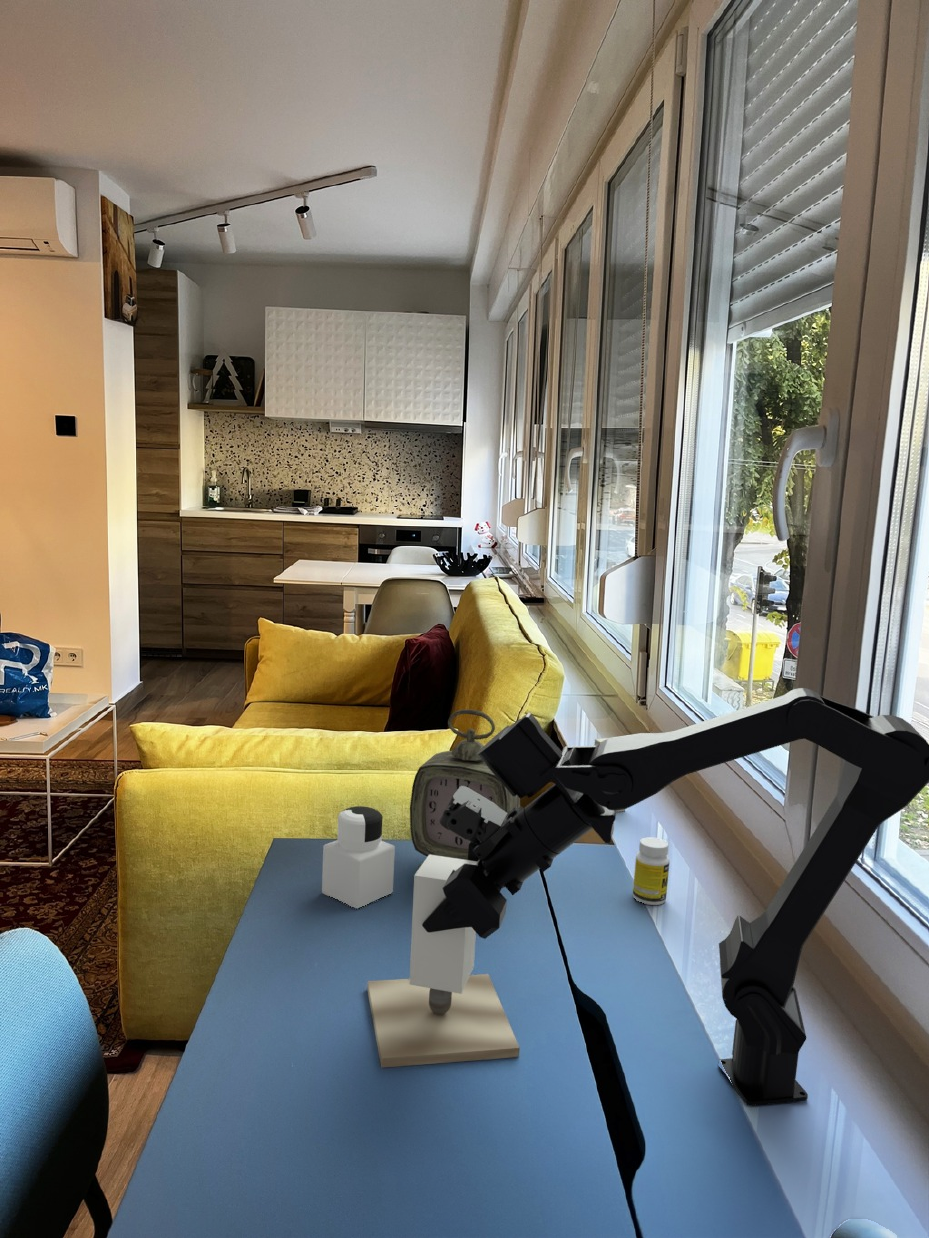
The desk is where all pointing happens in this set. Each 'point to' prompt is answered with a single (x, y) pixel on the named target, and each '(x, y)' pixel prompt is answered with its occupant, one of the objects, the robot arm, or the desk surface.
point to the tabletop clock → (452, 792)
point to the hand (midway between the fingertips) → (432, 915)
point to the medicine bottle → (358, 859)
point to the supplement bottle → (651, 871)
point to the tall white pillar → (438, 932)
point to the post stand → (439, 1023)
